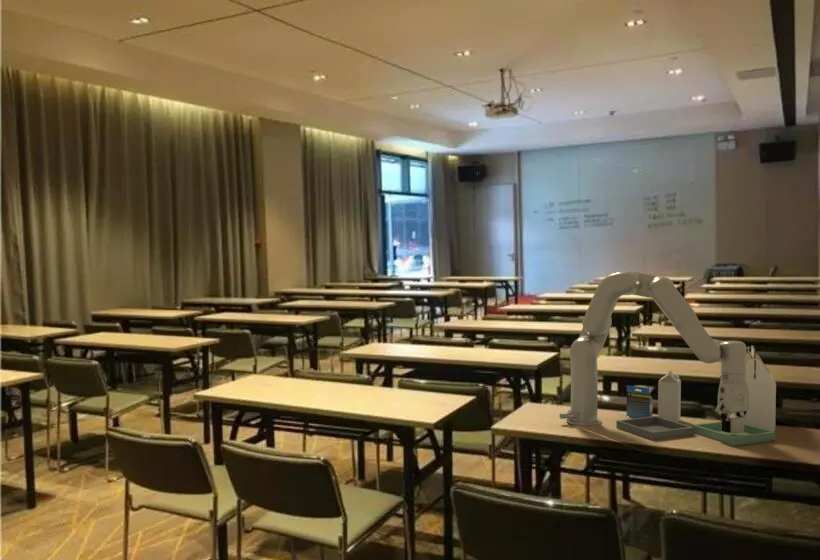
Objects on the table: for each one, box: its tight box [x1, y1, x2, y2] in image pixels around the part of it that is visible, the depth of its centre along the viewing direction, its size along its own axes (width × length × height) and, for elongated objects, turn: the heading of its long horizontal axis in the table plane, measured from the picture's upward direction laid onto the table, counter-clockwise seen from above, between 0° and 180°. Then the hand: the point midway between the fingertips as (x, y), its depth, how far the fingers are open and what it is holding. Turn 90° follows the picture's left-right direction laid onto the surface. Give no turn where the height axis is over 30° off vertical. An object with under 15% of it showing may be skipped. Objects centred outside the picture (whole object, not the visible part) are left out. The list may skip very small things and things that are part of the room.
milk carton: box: [657, 368, 682, 423], centre depth 251 cm, size 7×7×19 cm
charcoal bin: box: [615, 415, 695, 441], centre depth 235 cm, size 18×18×3 cm
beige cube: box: [720, 414, 744, 434], centre depth 229 cm, size 5×5×5 cm
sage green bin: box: [691, 420, 776, 448], centre depth 229 cm, size 18×18×3 cm
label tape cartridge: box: [626, 384, 653, 418], centre depth 256 cm, size 9×4×12 cm, turn 51°
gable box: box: [731, 345, 777, 432], centre depth 247 cm, size 22×13×28 cm, turn 156°
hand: (732, 430), depth 229 cm, fingers closed on beige cube, 4 cm apart
